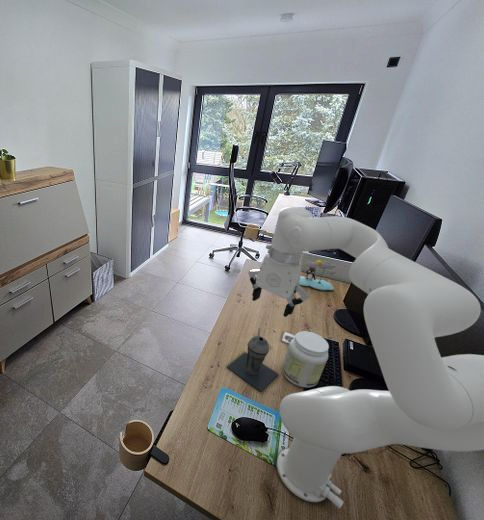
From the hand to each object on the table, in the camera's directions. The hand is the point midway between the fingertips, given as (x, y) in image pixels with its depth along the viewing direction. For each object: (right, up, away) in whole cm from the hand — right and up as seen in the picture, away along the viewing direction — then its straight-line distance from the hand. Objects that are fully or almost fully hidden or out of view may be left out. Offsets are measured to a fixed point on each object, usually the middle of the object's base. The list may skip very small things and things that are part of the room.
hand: (270, 306), depth 84 cm
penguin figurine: (+61, -1, +80) cm, 100 cm away
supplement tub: (+21, -30, +23) cm, 43 cm away
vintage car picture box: (+31, -22, +38) cm, 53 cm away
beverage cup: (+4, -28, +24) cm, 37 cm away
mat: (+4, -28, +24) cm, 38 cm away
